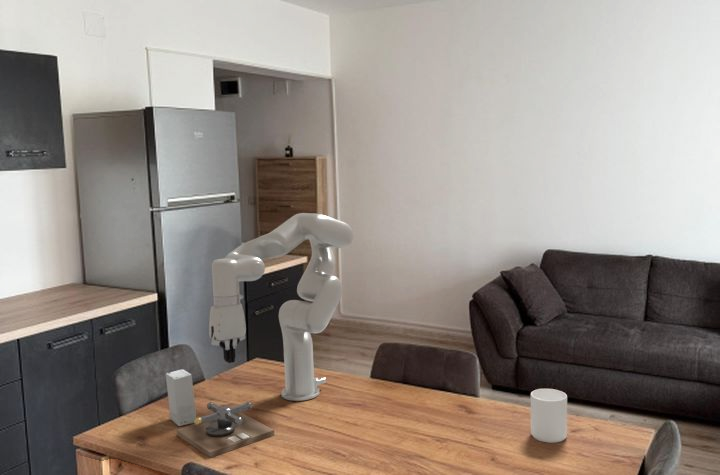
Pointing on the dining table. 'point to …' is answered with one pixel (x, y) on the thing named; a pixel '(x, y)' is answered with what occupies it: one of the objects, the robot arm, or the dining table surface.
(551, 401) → the mug
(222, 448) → the board
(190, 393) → the skincare box
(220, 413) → the capstan
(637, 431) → the dining table surface
